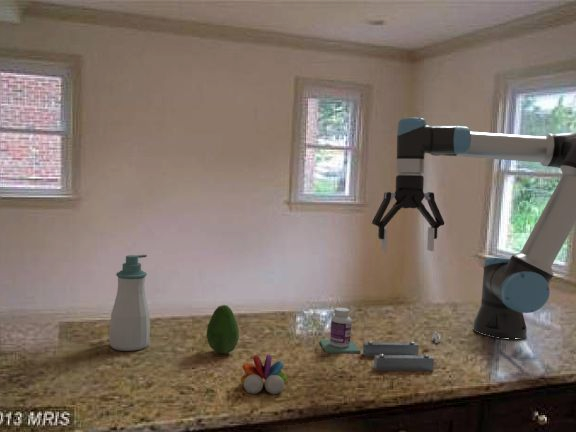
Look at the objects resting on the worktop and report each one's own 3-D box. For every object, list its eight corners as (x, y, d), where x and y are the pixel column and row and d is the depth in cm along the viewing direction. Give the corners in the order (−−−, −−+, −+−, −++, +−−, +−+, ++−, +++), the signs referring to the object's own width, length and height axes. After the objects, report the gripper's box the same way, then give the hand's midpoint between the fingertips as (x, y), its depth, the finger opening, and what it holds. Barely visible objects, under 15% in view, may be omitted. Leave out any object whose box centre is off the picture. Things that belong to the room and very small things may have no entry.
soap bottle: (157, 347, 140) (160, 257, 138) (122, 355, 133) (124, 260, 131) (136, 337, 147) (138, 252, 145) (101, 344, 140) (103, 254, 138)
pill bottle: (349, 349, 144) (351, 312, 143) (328, 346, 145) (330, 310, 144) (350, 343, 149) (353, 307, 148) (331, 341, 150) (333, 305, 149)
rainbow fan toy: (241, 380, 121) (242, 347, 121) (285, 381, 122) (286, 349, 121) (239, 396, 113) (241, 361, 112) (287, 397, 113) (289, 362, 113)
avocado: (224, 345, 144) (226, 300, 143) (244, 354, 138) (246, 306, 137) (199, 351, 138) (200, 304, 137) (218, 360, 132) (220, 311, 131)
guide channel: (415, 353, 145) (416, 340, 144) (433, 370, 133) (434, 356, 132) (362, 353, 143) (363, 340, 142) (376, 370, 131) (377, 356, 131)
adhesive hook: (430, 341, 158) (431, 331, 157) (437, 341, 159) (438, 330, 158) (437, 345, 155) (438, 334, 154) (444, 344, 156) (445, 333, 156)
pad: (352, 342, 152) (352, 340, 152) (360, 353, 143) (360, 350, 143) (319, 341, 151) (319, 339, 151) (326, 352, 142) (326, 350, 142)
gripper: (446, 175, 160) (443, 248, 161) (362, 173, 156) (360, 249, 157) (458, 175, 152) (455, 252, 154) (370, 174, 148) (368, 253, 150)
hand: (407, 250), depth 156 cm, fingers open, 13 cm apart
